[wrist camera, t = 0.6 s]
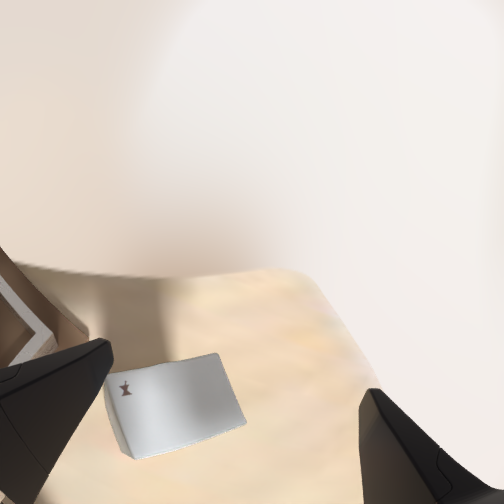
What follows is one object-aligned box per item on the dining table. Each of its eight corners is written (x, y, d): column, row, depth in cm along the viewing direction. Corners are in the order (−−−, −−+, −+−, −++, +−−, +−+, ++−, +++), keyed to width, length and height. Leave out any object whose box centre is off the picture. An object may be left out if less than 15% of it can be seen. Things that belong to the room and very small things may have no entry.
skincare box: (122, 454, 16) (130, 462, 8) (105, 406, 18) (99, 371, 10) (189, 437, 20) (251, 424, 12) (171, 393, 22) (218, 348, 14)
